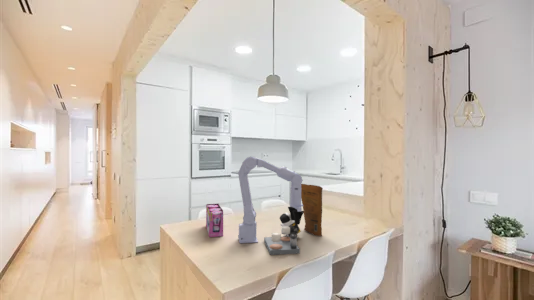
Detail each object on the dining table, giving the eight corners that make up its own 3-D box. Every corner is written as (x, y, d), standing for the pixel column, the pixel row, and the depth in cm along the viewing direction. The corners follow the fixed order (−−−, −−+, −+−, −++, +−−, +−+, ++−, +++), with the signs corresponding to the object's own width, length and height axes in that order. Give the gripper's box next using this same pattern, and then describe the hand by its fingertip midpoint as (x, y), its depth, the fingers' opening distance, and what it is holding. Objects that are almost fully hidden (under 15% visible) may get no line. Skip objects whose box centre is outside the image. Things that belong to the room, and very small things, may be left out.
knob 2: (282, 234, 132) (282, 228, 132) (280, 232, 136) (280, 226, 136) (290, 234, 133) (290, 228, 133) (288, 231, 137) (288, 226, 137)
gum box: (223, 237, 143) (224, 212, 143) (209, 238, 140) (209, 213, 140) (218, 224, 165) (218, 203, 165) (205, 225, 163) (206, 203, 163)
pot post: (290, 249, 121) (290, 236, 121) (288, 246, 124) (289, 233, 124) (298, 248, 121) (298, 235, 121) (296, 246, 125) (296, 233, 125)
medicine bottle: (290, 239, 141) (280, 220, 139) (285, 234, 148) (276, 216, 146) (301, 231, 143) (291, 213, 141) (295, 227, 149) (286, 209, 147)
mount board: (270, 254, 119) (270, 249, 119) (264, 241, 137) (264, 236, 137) (299, 253, 121) (299, 248, 121) (290, 240, 139) (290, 235, 139)
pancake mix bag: (317, 238, 142) (317, 186, 142) (297, 228, 159) (298, 182, 159) (326, 236, 145) (327, 186, 145) (306, 227, 162) (307, 182, 162)
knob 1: (272, 242, 121) (272, 235, 121) (270, 239, 125) (270, 232, 125) (281, 241, 122) (281, 235, 122) (279, 238, 126) (279, 232, 126)
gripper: (307, 198, 131) (307, 226, 131) (299, 193, 145) (298, 218, 145) (293, 199, 130) (293, 226, 130) (286, 194, 144) (286, 218, 144)
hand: (295, 222), depth 137 cm, fingers open, 7 cm apart
